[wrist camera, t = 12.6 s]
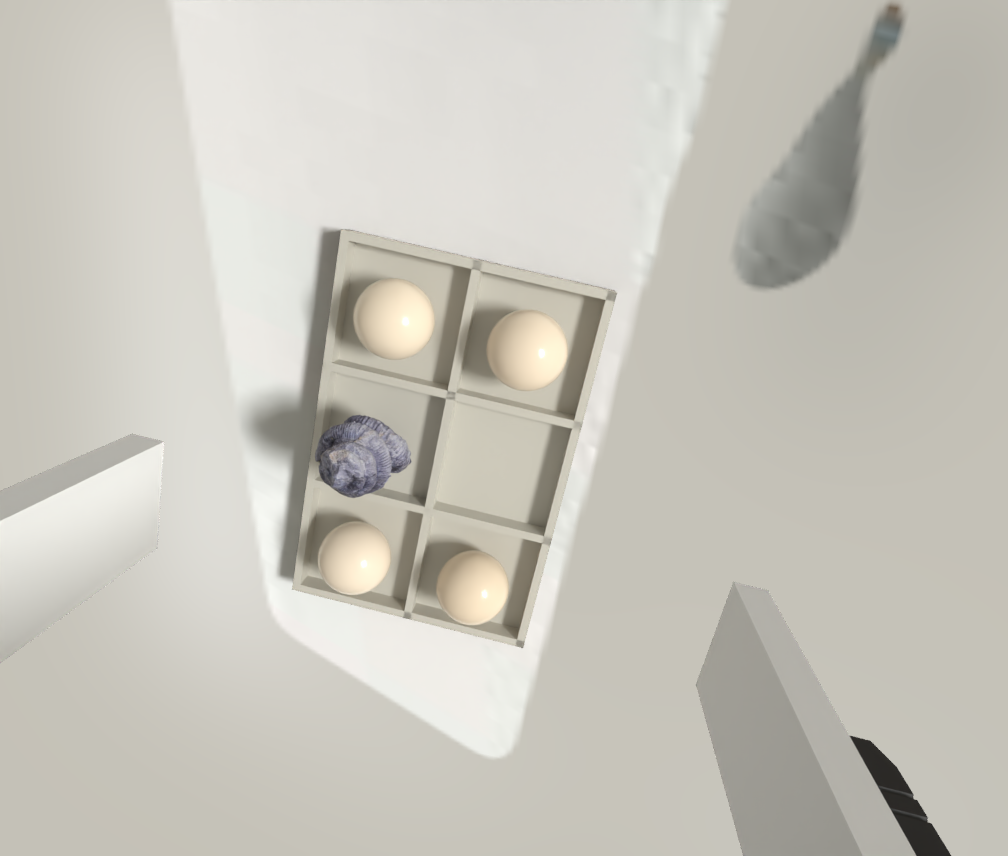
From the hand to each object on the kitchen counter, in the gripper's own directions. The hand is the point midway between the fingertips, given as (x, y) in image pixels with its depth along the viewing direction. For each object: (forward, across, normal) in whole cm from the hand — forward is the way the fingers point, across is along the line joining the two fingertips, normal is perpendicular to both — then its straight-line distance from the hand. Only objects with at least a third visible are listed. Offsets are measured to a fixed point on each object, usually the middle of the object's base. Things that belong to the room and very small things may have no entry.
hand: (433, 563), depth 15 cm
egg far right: (+32, 0, -18) cm, 37 cm away
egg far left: (+32, -9, -18) cm, 38 cm away
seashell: (+32, -9, -9) cm, 35 cm away
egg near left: (+32, -9, 0) cm, 33 cm away
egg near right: (+32, 0, 0) cm, 32 cm away
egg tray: (+33, -4, -9) cm, 34 cm away
